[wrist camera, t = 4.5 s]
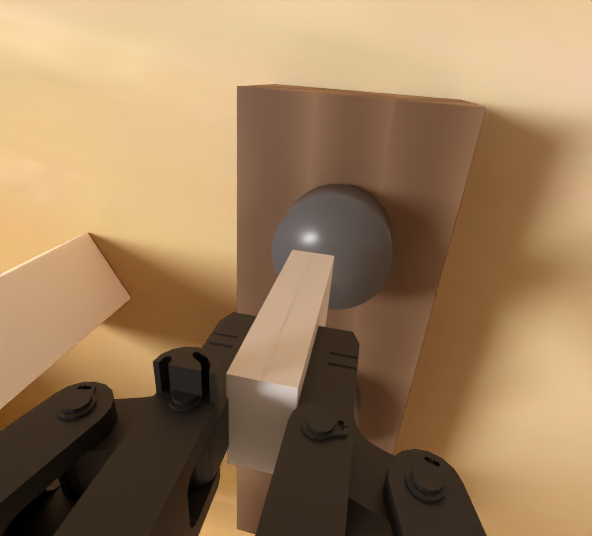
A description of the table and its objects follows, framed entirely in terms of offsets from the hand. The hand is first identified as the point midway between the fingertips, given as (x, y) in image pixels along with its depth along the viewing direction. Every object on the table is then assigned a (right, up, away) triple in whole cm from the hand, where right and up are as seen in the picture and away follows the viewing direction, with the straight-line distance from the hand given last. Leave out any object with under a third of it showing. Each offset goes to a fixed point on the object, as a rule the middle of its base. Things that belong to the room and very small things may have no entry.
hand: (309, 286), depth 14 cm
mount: (+2, -4, +14) cm, 15 cm away
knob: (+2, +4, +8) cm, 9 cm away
